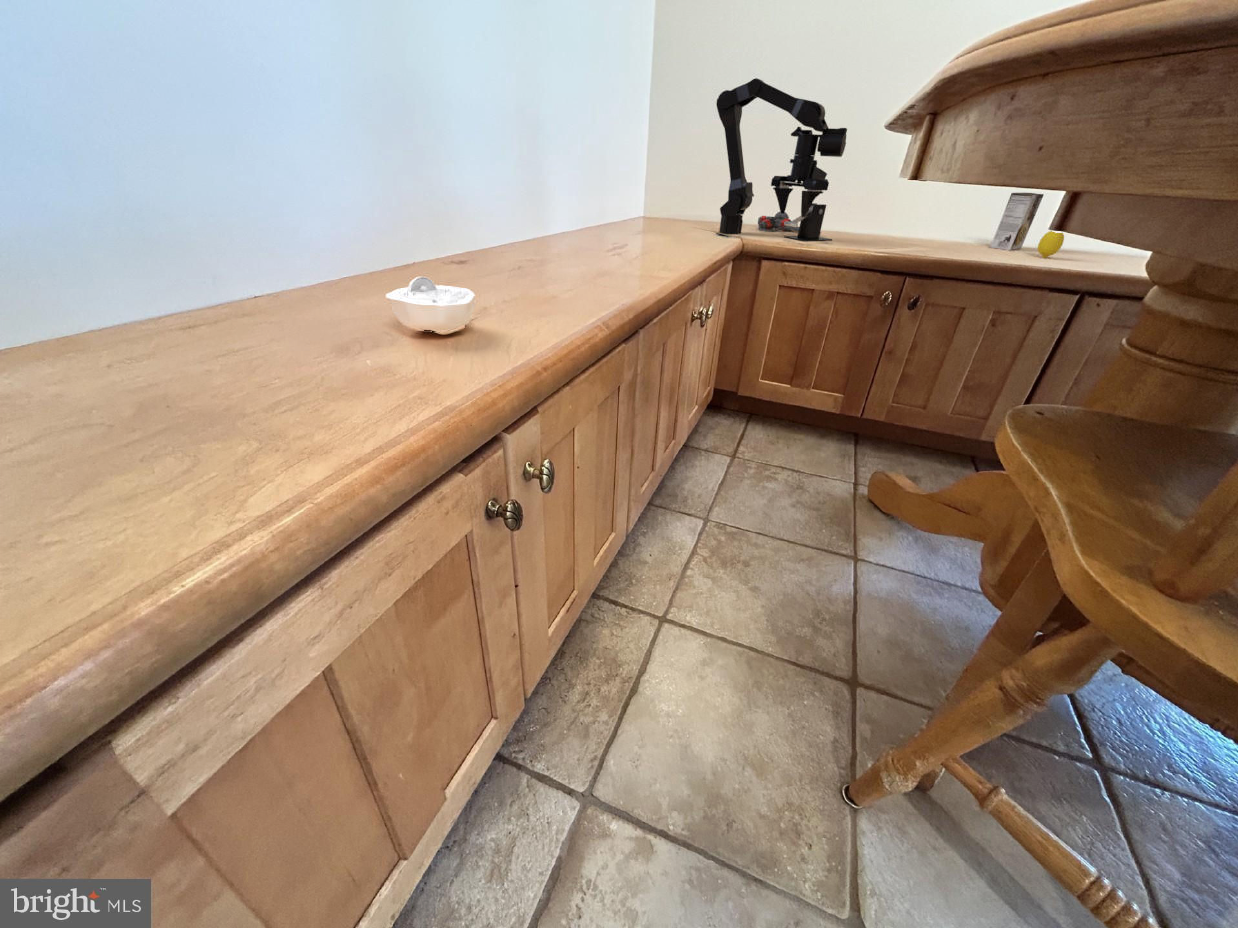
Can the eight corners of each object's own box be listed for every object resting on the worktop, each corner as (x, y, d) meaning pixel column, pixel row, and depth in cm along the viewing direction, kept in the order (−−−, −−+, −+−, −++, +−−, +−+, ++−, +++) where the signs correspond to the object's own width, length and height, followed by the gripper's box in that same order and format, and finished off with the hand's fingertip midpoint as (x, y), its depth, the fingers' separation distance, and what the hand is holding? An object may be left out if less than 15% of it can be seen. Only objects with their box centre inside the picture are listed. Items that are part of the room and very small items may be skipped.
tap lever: (795, 230, 153) (794, 222, 151) (784, 227, 157) (783, 220, 155) (823, 213, 154) (823, 205, 153) (812, 211, 158) (811, 203, 156)
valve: (739, 235, 182) (767, 227, 188) (798, 249, 165) (826, 240, 171) (741, 216, 178) (769, 208, 184) (801, 228, 161) (830, 220, 167)
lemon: (1037, 258, 147) (1050, 229, 143) (1029, 255, 152) (1042, 227, 148) (1058, 260, 146) (1073, 230, 142) (1050, 257, 151) (1063, 228, 147)
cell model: (428, 351, 60) (419, 293, 57) (379, 329, 67) (368, 276, 63) (496, 334, 67) (491, 281, 63) (446, 315, 74) (439, 267, 70)
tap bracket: (802, 244, 154) (810, 205, 149) (783, 240, 161) (790, 202, 155) (831, 243, 159) (840, 205, 153) (811, 239, 166) (819, 202, 160)
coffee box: (1000, 246, 170) (1022, 192, 162) (1021, 248, 166) (1045, 193, 157) (988, 247, 165) (1010, 192, 157) (1010, 250, 161) (1034, 193, 152)
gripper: (849, 157, 141) (834, 218, 149) (803, 156, 155) (792, 212, 163) (819, 156, 136) (806, 219, 145) (775, 154, 151) (764, 212, 159)
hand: (792, 215), depth 153 cm, fingers open, 9 cm apart
